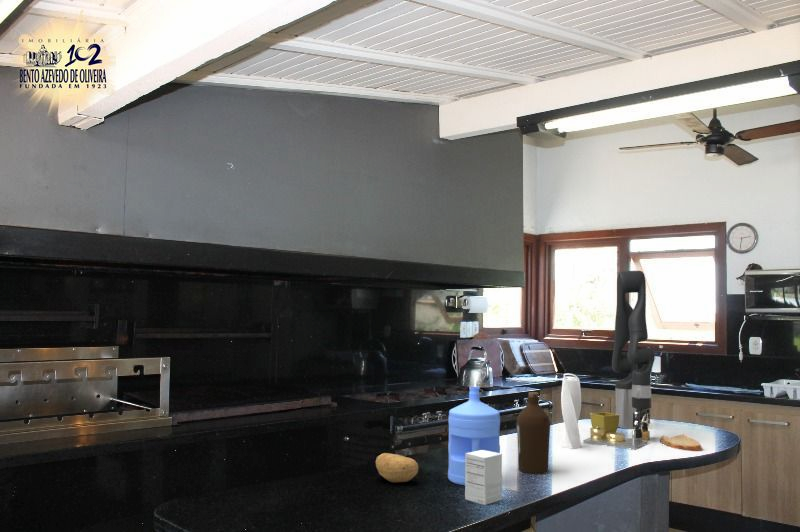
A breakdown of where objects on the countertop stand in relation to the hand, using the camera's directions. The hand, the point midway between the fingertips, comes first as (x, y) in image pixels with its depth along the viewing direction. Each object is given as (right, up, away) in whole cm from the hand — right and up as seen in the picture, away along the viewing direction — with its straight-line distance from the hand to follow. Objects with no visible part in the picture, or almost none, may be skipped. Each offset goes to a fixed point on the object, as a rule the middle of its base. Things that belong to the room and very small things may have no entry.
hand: (641, 436), depth 284 cm
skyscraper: (-33, 0, -18) cm, 37 cm away
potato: (-99, +4, -75) cm, 124 cm away
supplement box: (-75, +5, -93) cm, 120 cm away
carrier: (-13, -1, -9) cm, 16 cm away
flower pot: (-13, -2, +8) cm, 15 cm away
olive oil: (-55, +3, -57) cm, 80 cm away
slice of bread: (+12, -1, -11) cm, 16 cm away
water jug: (-76, +4, -72) cm, 104 cm away
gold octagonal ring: (0, -1, 0) cm, 1 cm away
